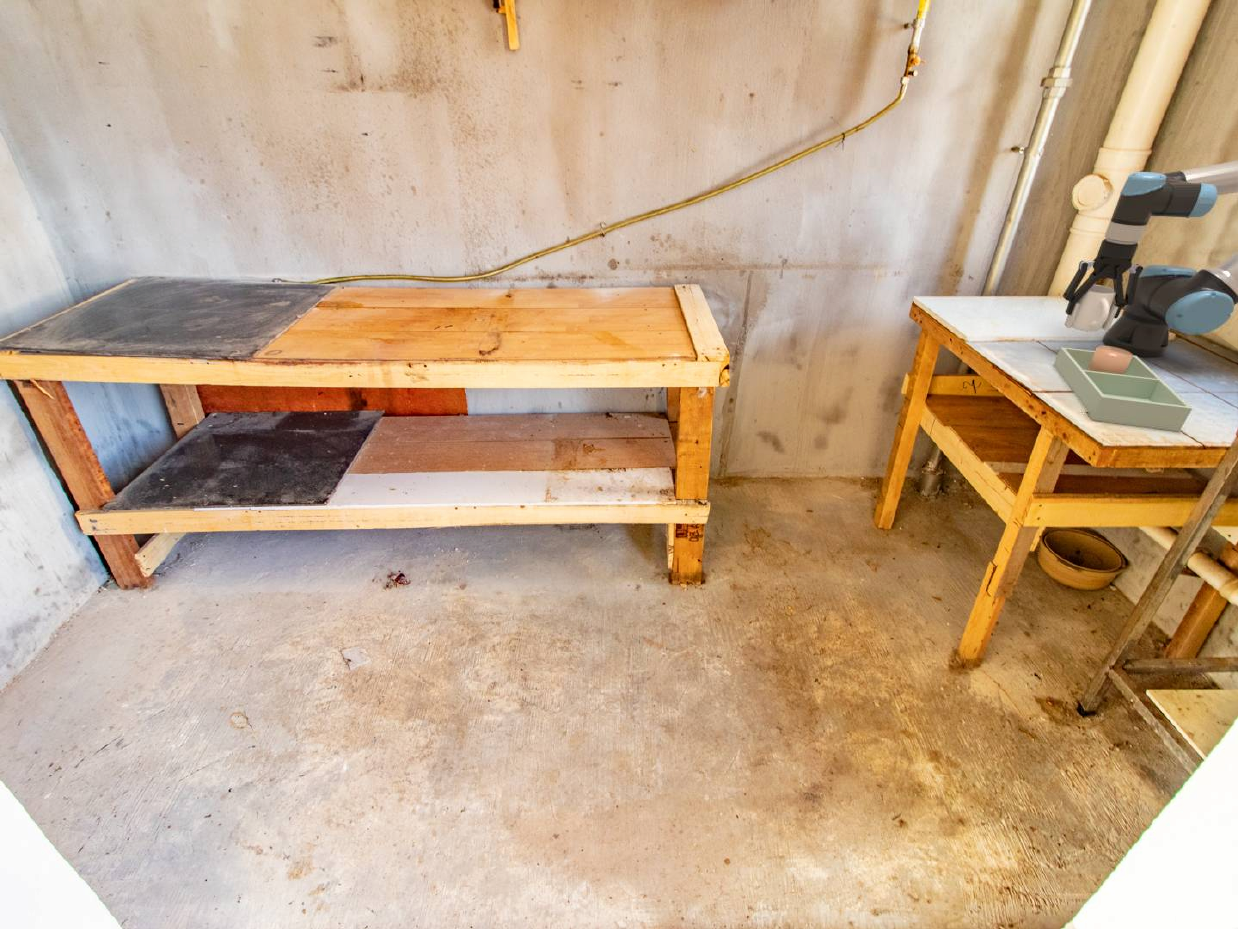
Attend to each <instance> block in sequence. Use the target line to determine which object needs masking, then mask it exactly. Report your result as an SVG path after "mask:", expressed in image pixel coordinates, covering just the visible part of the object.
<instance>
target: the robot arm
mask: <svg viewBox="0 0 1238 929" xmlns="http://www.w3.org/2000/svg"><path fill="white" fill-rule="evenodd" d="M1235 193H1238V160H1234V161H1229V162H1223V163H1217V164H1210V165H1205V166H1200V167H1196V168H1195V167H1193V168H1189V169H1183V170H1177V171H1171V172H1166V173H1160V172H1150V171H1149V172H1148V171H1135V172H1132V173H1131V174H1129V176H1128V177H1127V179H1126V180H1125V182H1124V185H1123V187H1122V189H1121V191H1120V195H1119V198H1118V200H1117V202H1116V205H1115V208H1114V211H1113V213H1112V216H1111V218H1110V220H1109V224H1108V226H1107V228H1106V231H1105V233H1104V239H1103V240H1102V241H1101V244H1100V246H1099V249H1098V251H1097V254H1096V257H1095V258H1093V260H1090V261H1086V260H1081V261H1079V263H1078V269H1077V271H1076V272H1075V274H1074V276H1073V278H1072V280H1071V281H1070V282H1069V284H1068V286H1067V287H1066V289H1065V291H1064V293H1063V294H1062V298H1064V299H1065V301H1068V304H1067V306H1066V309H1065V314H1066V315H1067V317H1066V319H1065V322H1064V326H1065V328H1067V329H1071V328H1072V327H1071V326H1072V323H1073V320H1074V318H1075V315H1076V313H1077V310H1078V308H1079V305H1080V304H1079V303H1078V301H1079V300H1080V299H1081V298H1082V297H1083V295H1084V294H1085V293H1086V292H1087V291H1088V290H1089V289H1090V288H1091V287H1092V286H1093V285H1096V283H1097V282H1099V281H1100V280H1101V279H1110V280H1112V281H1113V289H1114V293H1115V292H1116V295H1115V298H1114V302H1115V303H1112V305H1111V307H1110V310H1109V314H1108V317H1107V319H1106V321H1105V323H1104V324H1103V326H1102V328H1101V330H1103V331H1104V332H1105V333H1104V335H1103V338H1102V339H1101V340H1102V343H1103V344H1104V345H1105V346H1111V347H1116V348H1120V349H1123V350H1126V351H1128V352H1130V353H1131V354H1132V355H1133V356H1141V357H1151V358H1154V357H1155V358H1156V357H1162V356H1164V355H1165V353H1166V352H1167V349H1168V347H1169V341H1170V330H1171V329H1172V330H1175V331H1177V332H1179V333H1183V334H1185V335H1190V336H1195V335H1203V334H1207V333H1210V332H1213V331H1215V330H1217V329H1219V328H1221V327H1222V326H1223V325H1225V323H1227V322H1228V321H1229V319H1230V318H1231V317H1232V315H1231V314H1233V313H1234V310H1235V305H1238V250H1236V251H1235V252H1234V253H1232V255H1230V256H1229V257H1227V258H1226V259H1225V260H1223V261H1222V262H1220V263H1219V264H1218V265H1216V266H1215V267H1206V268H1202V269H1200V270H1199V271H1198V270H1196V269H1195V268H1191V267H1183V266H1178V265H1177V266H1175V265H1166V264H1149V265H1147V266H1145V267H1143V266H1142V265H1140V264H1139V263H1137V264H1134V263H1133V262H1132V260H1133V258H1134V257H1135V254H1136V252H1137V249H1138V247H1139V244H1138V242H1140V241H1141V240H1142V237H1143V235H1144V233H1145V230H1146V228H1147V225H1148V223H1149V221H1150V219H1151V217H1172V218H1186V219H1190V218H1200V217H1204V216H1206V215H1207V214H1208V213H1210V212H1211V211H1212V210H1213V208H1214V206H1215V204H1216V202H1217V200H1218V196H1223V195H1228V194H1235ZM1091 268H1092V269H1093V271H1092V272H1091V273H1090V274H1089V276H1088V277H1087V279H1086V280H1085V281H1084V282H1083V283H1082V284H1081V282H1082V281H1083V279H1084V277H1085V276H1086V274H1087V271H1089V270H1090V269H1091ZM1127 271H1129V275H1128V280H1127V285H1126V289H1125V293H1124V286H1123V282H1124V278H1123V277H1124V276H1123V274H1124V273H1126V272H1127ZM1080 284H1081V285H1080ZM1123 308H1124V309H1123ZM1122 309H1123V311H1122ZM1121 311H1122V313H1121ZM1120 313H1121V315H1120ZM1119 315H1120V317H1119ZM1118 317H1119V318H1118ZM1115 319H1117V320H1116V321H1115V322H1114V323H1113V321H1114V320H1115Z"/></svg>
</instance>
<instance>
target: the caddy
mask: <svg viewBox="0 0 1238 929" xmlns="http://www.w3.org/2000/svg"><path fill="white" fill-rule="evenodd" d="M1094 353H1095V350H1088V349H1080V348H1079V349H1078V348H1069V347H1060V349H1059V350H1058V353H1057V355H1056V357H1055V360H1054V361H1053V362H1054V363H1053V367H1054V368H1055V370H1056V371H1057V372H1058V373H1059V375H1060V376H1061V377H1062V379H1063V380H1064V381H1065V382H1066V384H1067V385H1068V387H1069V388H1070V389H1071V391H1072V392H1073V393H1074V395H1075V396H1076V397H1077V399H1078V400H1079V401H1080V403H1081V404H1082V405H1083V406H1084V408H1085V409H1086V410H1087V411H1084V412H1085V413H1086V415H1087V417H1090V418H1089V419H1090V420H1091V421H1097V422H1105V423H1113V424H1118V425H1125V424H1126V426H1134V427H1142V428H1148V429H1155V430H1157V429H1158V430H1165V431H1171V432H1180V431H1181V430H1182V427H1183V426H1184V424H1185V422H1186V421H1187V419H1188V418H1189V415H1190V413H1191V412H1192V410H1193V408H1192V407H1191V405H1189V403H1187V402H1186V401H1185V400H1184V399H1183V398H1182V397H1181V395H1178V393H1176V391H1175V390H1173V388H1171V387H1170V386H1169V385H1168V384H1167V383H1166V382H1165V381H1164V380H1163V379H1161V378H1160V377H1159V375H1158V374H1156V372H1154V371H1153V370H1152V369H1151V368H1150V367H1149V366H1148V365H1147V364H1146V363H1145V362H1144V361H1143V360H1142V359H1141V358H1139V357H1138V355H1133V357H1132V359H1131V361H1130V363H1129V365H1128V367H1127V369H1126V371H1125V373H1124V375H1121V374H1112V373H1104V372H1096V371H1088V370H1087V368H1088V366H1089V364H1090V361H1091V359H1092V357H1093V355H1094Z"/></svg>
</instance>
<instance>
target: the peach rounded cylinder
mask: <svg viewBox="0 0 1238 929" xmlns="http://www.w3.org/2000/svg"><path fill="white" fill-rule="evenodd" d="M1094 351H1095V353H1094V355H1093V357H1092V359H1091V361H1090V364H1089V366H1088V368H1087V370H1088V371H1096V372H1104V373H1112V374H1121V375H1124V373H1125V371H1126V369H1127V367H1128V365H1129V363H1130V361H1131V359H1132V357H1133V356H1134V354H1131V353H1130V352H1128V351H1126V350H1123V349H1120V348H1116V347H1111V346H1107V345H1099V346H1097V347H1096V349H1095V350H1094Z"/></svg>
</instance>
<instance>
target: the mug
mask: <svg viewBox="0 0 1238 929" xmlns="http://www.w3.org/2000/svg"><path fill="white" fill-rule="evenodd" d="M1115 295H1116V292H1115V293H1114V287H1110V286H1107V285H1101V284H1094V285H1093V286H1092V287H1091V288H1090V289H1089V290H1088V291H1087V292H1086V293H1085V294H1084V295H1083V297H1082V298H1081V299H1080V300H1079V301H1078V303H1079V304H1080V305H1079V308H1078V310H1077V313H1076V315H1075V318H1074V320H1073V323H1072V326H1071V328H1072V329H1075V330H1078V331H1082V332H1083V331H1084V332H1097V331H1100V330H1102V326H1103V324H1104V323H1105V321H1106V319H1107V317H1108V314H1109V310H1110V307H1111V305H1112V304H1114V303H1113V302H1114V301H1115Z"/></svg>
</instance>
